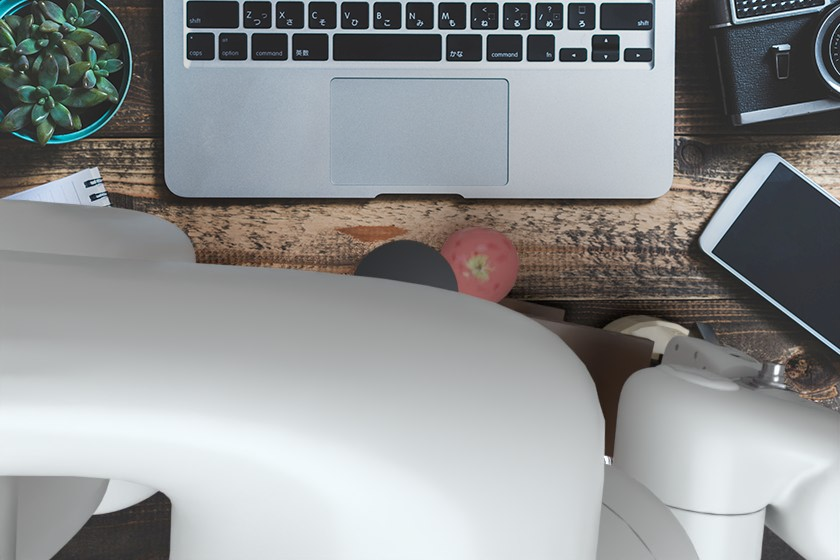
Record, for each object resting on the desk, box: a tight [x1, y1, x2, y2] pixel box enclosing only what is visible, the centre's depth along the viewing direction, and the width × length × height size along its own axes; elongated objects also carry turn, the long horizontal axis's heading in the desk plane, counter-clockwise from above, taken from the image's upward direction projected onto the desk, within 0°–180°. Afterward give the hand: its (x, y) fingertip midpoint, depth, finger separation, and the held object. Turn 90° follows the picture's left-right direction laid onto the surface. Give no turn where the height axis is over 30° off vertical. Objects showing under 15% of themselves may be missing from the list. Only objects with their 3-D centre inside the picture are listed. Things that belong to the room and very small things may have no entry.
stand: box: [497, 296, 655, 458], centre depth 56 cm, size 9×8×23 cm
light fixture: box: [353, 239, 458, 292], centre depth 54 cm, size 7×7×25 cm
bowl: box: [602, 314, 690, 358], centre depth 65 cm, size 11×11×5 cm
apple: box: [439, 226, 520, 303], centre depth 63 cm, size 7×7×8 cm
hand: (657, 380), depth 62 cm, fingers closed on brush, 2 cm apart
